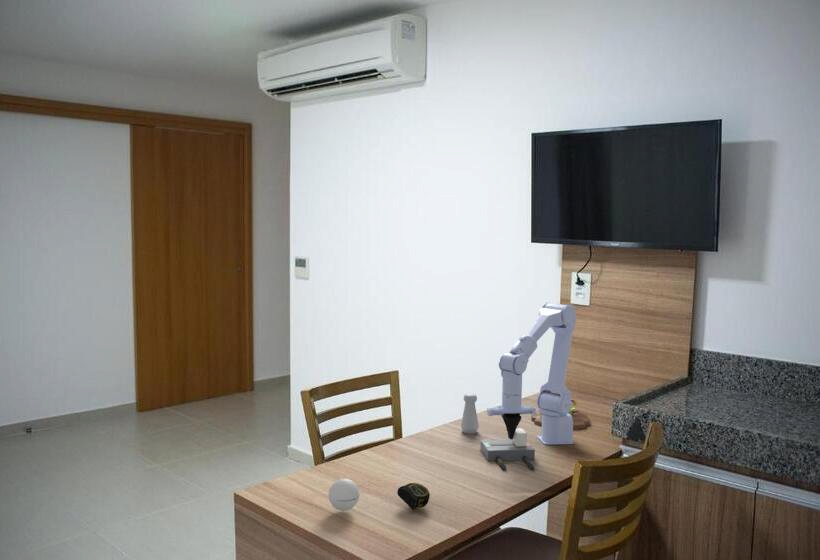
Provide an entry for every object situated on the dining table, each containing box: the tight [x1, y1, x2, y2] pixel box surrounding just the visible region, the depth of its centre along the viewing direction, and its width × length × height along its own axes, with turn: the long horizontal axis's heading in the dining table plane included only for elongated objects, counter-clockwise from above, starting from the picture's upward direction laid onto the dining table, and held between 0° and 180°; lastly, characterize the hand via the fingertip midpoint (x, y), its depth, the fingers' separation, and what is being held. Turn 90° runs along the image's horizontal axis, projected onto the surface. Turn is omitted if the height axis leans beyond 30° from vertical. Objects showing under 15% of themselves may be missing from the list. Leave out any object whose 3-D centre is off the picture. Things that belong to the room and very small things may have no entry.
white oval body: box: [328, 478, 371, 512], centre depth 160 cm, size 10×7×7 cm
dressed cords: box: [495, 456, 535, 471], centre depth 193 cm, size 9×9×1 cm
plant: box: [530, 399, 590, 431], centre depth 238 cm, size 20×20×11 cm
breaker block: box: [480, 438, 536, 462], centre depth 202 cm, size 14×10×3 cm
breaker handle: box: [512, 427, 528, 447], centre depth 202 cm, size 3×5×4 cm, turn 6°
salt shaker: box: [460, 393, 480, 435], centre depth 223 cm, size 6×6×13 cm
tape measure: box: [397, 482, 431, 510], centre depth 164 cm, size 7×7×4 cm
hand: (510, 438), depth 202 cm, fingers closed
